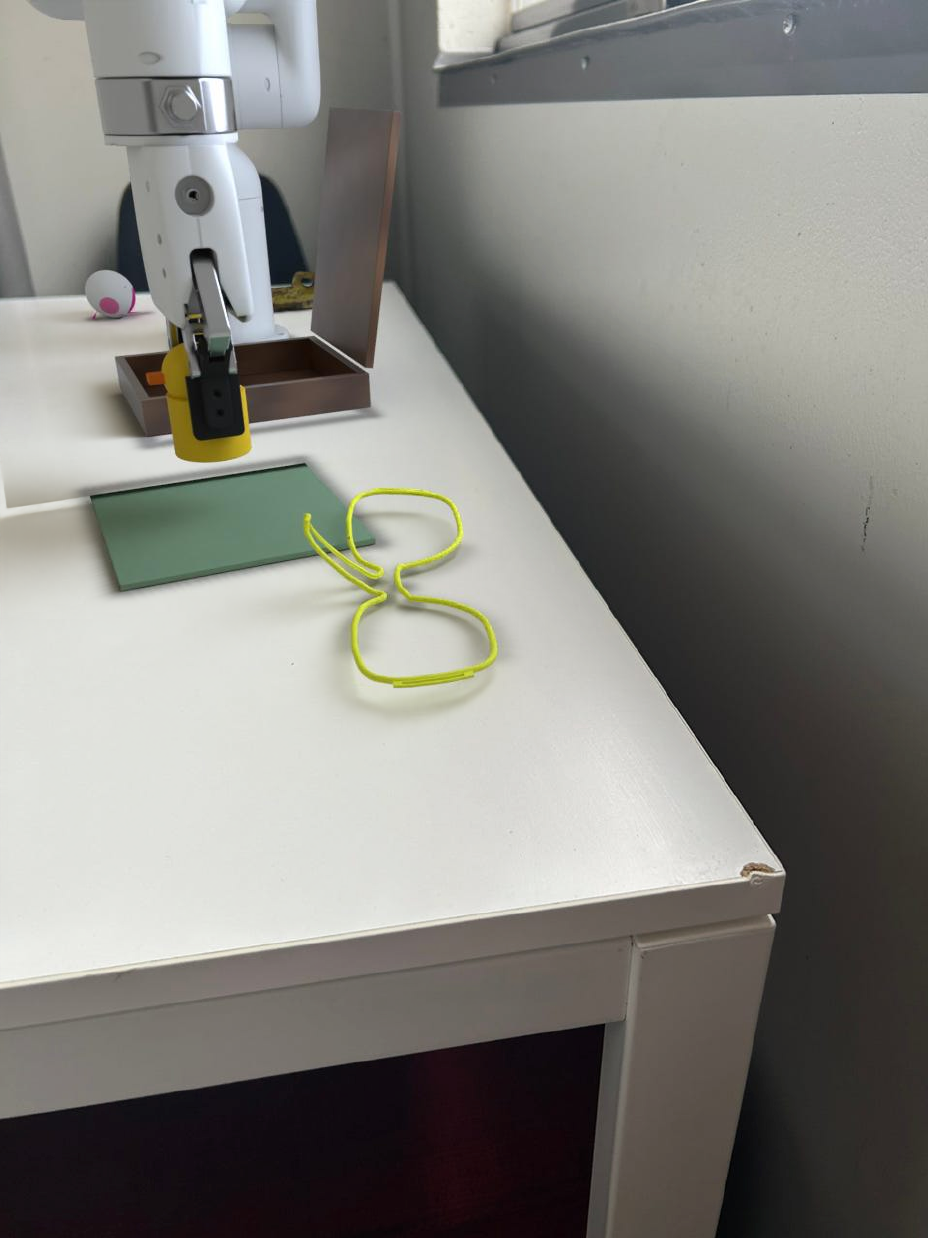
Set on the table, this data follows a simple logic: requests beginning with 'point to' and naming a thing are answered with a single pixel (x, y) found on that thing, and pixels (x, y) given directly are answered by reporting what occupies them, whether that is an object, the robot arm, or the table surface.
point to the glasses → (399, 681)
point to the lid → (354, 228)
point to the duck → (181, 419)
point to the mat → (220, 524)
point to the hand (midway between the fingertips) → (210, 421)
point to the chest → (259, 382)
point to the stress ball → (110, 294)
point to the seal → (294, 294)
